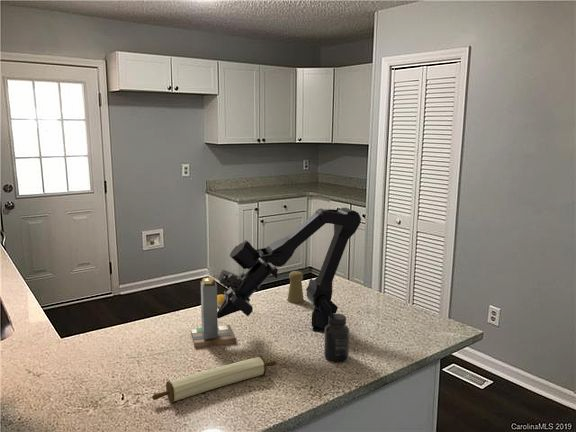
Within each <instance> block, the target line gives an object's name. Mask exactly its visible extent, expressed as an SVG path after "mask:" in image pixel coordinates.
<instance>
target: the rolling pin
mask: <svg viewBox="0 0 576 432" xmlns="http://www.w3.org/2000/svg"><path fill="white" fill-rule="evenodd" d="M275 365H277V361H276V360H270V361H268V362H266V360H265V358H264V357H263V356H262V355H259V356H257V357H253V358H249V359H248V358H247V359H244V360H242V361H237V362H233V363H230V364H226V365H222V366H218V367H215V368H210V369H208V370H207V369H206V370H205V371H201V372H200V371H199V372H197V373H194V374H190V375H187V376H184V377H180V378H178V379H174V380H171V381H170V380H167V381H166V383H165V389H166V390H165V391H161V392H157V393H154V394H153V395H152V397H151V398H152V400H153V401H155V400H158V399H161V398H164V397H166V396H167V400H168V401H169V404H173V403H174V402H177V401H180V400H182V399H185V398H189V397H192V396H195V395H198V394H201V393H202V394H203V393H204V392H207V391H211V390H213V389H217V388H220V387H221V388H222V387H223V386H224V387H225V386H227V385H231V384H234V383H238V382H241V381H244V380H245V381H246V380H248V379H253V378H256V377H259V376H262V377H265V375H267V370H268V369H267V367H273V366H275Z"/></svg>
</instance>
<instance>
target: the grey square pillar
mask: <svg viewBox="0 0 576 432" xmlns="http://www.w3.org/2000/svg"><path fill="white" fill-rule="evenodd" d="M217 295H218V284H217V282H216V279H215V278H214V277H211V276H210V277H209V276H208V277H203V278H202V279H201V280H200V307H201V308H200V309H201V310H200V311H201V313H200V314H201V328H202V335H203V338H204V339H212V338H218V326H219V325H218V320H219V319H218V318H217V312H218V307H217Z"/></svg>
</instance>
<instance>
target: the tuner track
mask: <svg viewBox="0 0 576 432" xmlns="http://www.w3.org/2000/svg"><path fill="white" fill-rule="evenodd" d="M190 334H191V339H192V342H193V347H194V349H195V348H204V347H211V346H220V345H228V344H229V345H230V344H236V343H237V342H236V341H237V340H236V339H237V338H236V335H235V333H234V331H233V329H232V327H231V325H230V324H222V325H218V338H212V339H204V338H203V335H202V327H196V328H190Z"/></svg>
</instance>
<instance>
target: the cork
mask: <svg viewBox="0 0 576 432" xmlns="http://www.w3.org/2000/svg"><path fill="white" fill-rule="evenodd" d="M288 279H289V287H288V293H287V299H286V300H287V302H288V303H290V304H294V303H295V304H297V305H298V304H302V303H304V301H305V300H304V292H303V283H302V282H303V279H304V275H303V272H302V271H299V270H293V271H290V273H288Z"/></svg>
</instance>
